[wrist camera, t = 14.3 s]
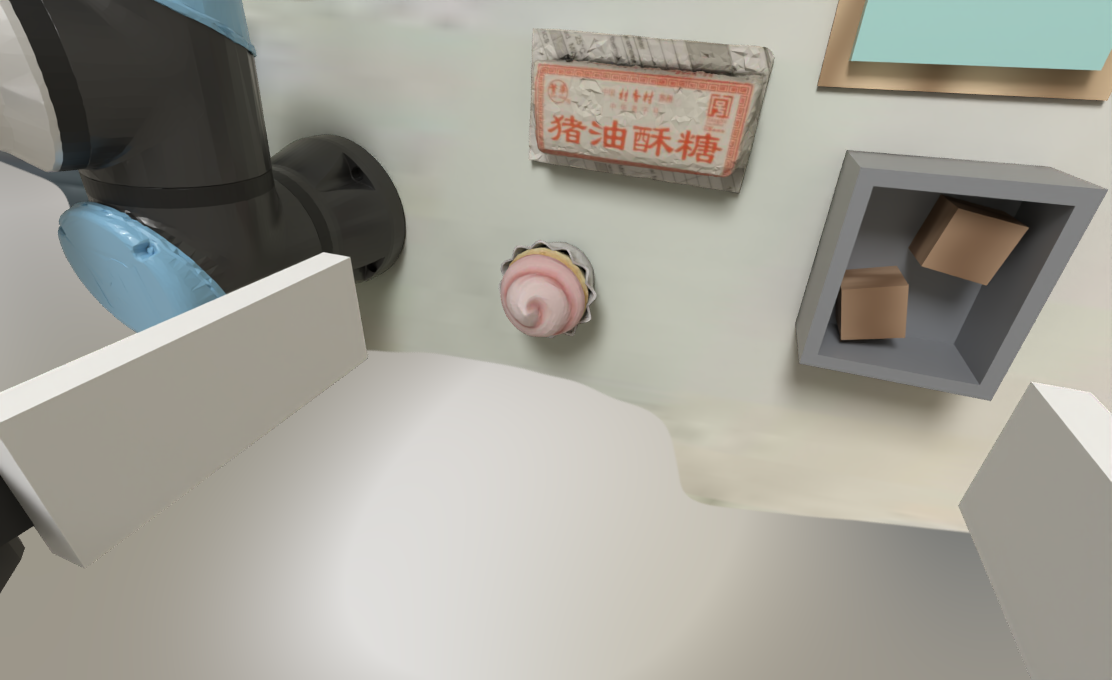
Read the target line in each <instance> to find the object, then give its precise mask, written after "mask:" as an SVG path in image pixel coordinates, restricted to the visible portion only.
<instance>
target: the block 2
mask: <svg viewBox="0 0 1112 680" xmlns="http://www.w3.org/2000/svg"><path fill="white" fill-rule="evenodd" d="M1028 228H1029V227H1027V226H1026V225H1024V224H1023V223H1021V222H1020V221H1018V220H1017V219H1015V218H1014V217H1012V216H1011V215H1009V214H1008V213H1006V212H1005V211H1001V210H997V209H994V208H990V207H986V206H982V205H979V204H975V203H971V202H968V201H964V200H960V199H957V198H953V197H949V196H946V195H942V194H941V195H940V197H939V198H938V200H937V201H936V203H935V205H934V206H933V208H932V210H931V211H930V213H929V215H928V216H927V218H926V219H925V221H924V223H923V224H922V226H921V228H920V229H919V231H918V233H917V234H916V236H915V237H914V239H913V241H912V242H911V244H910V246H909V247H908V248H909V250H910V251H911V252H912V254H913V255H914V257H915V258H916V259H917V261H918V262H919V264H920V265H921V266H922V267H926V268H929V269H933V270H936V271H939V272H943V273H946V274H949V275H953V276H956V277H959V278H963V279H966V280H969V281H973V282H976V283H979V284H983V285H986V286H987V284H988V283H989V282H990V280H991V279H992V278H993V276H994V275H995V274H996V272H997V271H998V269H999V268H1000V267H1001V265H1002V264H1003V263H1004V261H1005V260H1006V259H1007V257H1008V256H1009V254H1010V253H1011V252H1012V250H1013V249H1014V248H1015V246H1016V245H1017V244H1018V242H1019V241H1020V239H1021V238H1022V237H1023V235H1024V234H1025V233H1026V231H1027V230H1028Z"/></svg>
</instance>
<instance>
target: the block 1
mask: <svg viewBox="0 0 1112 680" xmlns="http://www.w3.org/2000/svg"><path fill="white" fill-rule="evenodd" d="M908 289H909V285H908V283H907V282H906V280H905V278H904V277H903V275H902V273H901V272H900V270H899V268H898V267H897V266H887V267H874V268H861V269H849V270H846V271H845V274H844V277H843V280H842V283H841V286H840V289H839V292H838V295H837V298H836V321H837V326H838V330H839V334H840V338H841V340H853V339H885V338H905V332H906V318H907V303H908Z"/></svg>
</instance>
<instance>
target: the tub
mask: <svg viewBox="0 0 1112 680" xmlns="http://www.w3.org/2000/svg"><path fill="white" fill-rule="evenodd" d="M1107 191H1108V189H1105V188H1103V187H1100V186H1098V185H1095V184H1092V183H1090V182H1087V181H1085V180H1082V179H1080V178H1077V177H1075V176H1072V175H1069V174H1067V173H1064V172H1062V171H1059V170H1057V169H1054V168H1052V167H1045V166H1033V165H1021V164H1009V163H996V162H984V161H972V160H960V159H948V158H935V157H923V156H911V155H899V154H887V153H874V152H862V151H850V150H847V151H846V155H845V158H844V161H843V165H842V168H841V172H840V175H839V178H838V182H837V185H836V188H835V192H834V195H833V199H832V202H831V205H830V209H829V212H828V215H827V219H826V222H825V226H824V229H823V232H822V236H821V239H820V242H819V246H818V249H817V253H816V256H815V259H814V263H813V266H812V270H811V273H810V276H809V280H808V283H807V286H806V290H805V293H804V297H803V300H802V303H801V307H800V310H799V313H798V317H797V320H796V333H797V344H798V355H799V364H804V365H810V366H815V367H820V368H825V369H830V370H835V371H840V372H845V373H851V374H856V375H861V376H866V377H871V378H876V379H881V380H886V381H892V382H897V383H902V384H907V385H912V386H917V387H922V388H927V389H932V390H938V391H943V392H948V393H953V394H958V395H963V396H968V397H973V398H979V399H984V400H989V401H991V400H992V398H993V396H994V394H995V393H996V391H997V389H998V387H999V385H1000V384H1001V382H1002V380H1003V378H1004V376H1005V375H1006V373H1007V371H1008V369H1009V367H1010V366H1011V364H1012V362H1013V360H1014V358H1015V357H1016V355H1017V353H1018V351H1019V349H1020V348H1021V346H1022V344H1023V342H1024V340H1025V339H1026V337H1027V335H1028V333H1029V331H1030V330H1031V328H1032V326H1033V324H1034V322H1035V321H1036V319H1037V317H1038V315H1039V313H1040V312H1041V310H1042V308H1043V306H1044V304H1045V303H1046V301H1047V299H1048V297H1049V295H1050V294H1051V292H1052V290H1053V288H1054V286H1055V285H1056V283H1057V281H1058V279H1059V277H1060V276H1061V274H1062V272H1063V270H1064V268H1065V267H1066V265H1067V263H1068V261H1069V259H1070V258H1071V256H1072V254H1073V252H1074V250H1075V249H1076V247H1077V245H1078V243H1079V241H1080V240H1081V238H1082V236H1083V234H1084V232H1085V231H1086V229H1087V227H1088V225H1089V223H1090V222H1091V220H1092V218H1093V216H1094V214H1095V213H1096V211H1097V209H1098V207H1099V205H1100V204H1101V202H1102V200H1103V198H1104V196H1105V195H1106V193H1107ZM941 194H942V195H946V196H949V197H953V198H957V199H960V200H964V201H968V202H971V203H975V204H979V205H982V206H986V207H990V208H994V209H997V210H1001V211H1005V212H1006V213H1008V214H1009V215H1011V216H1012V217H1014V218H1015V219H1017V220H1018V221H1020V222H1021V223H1023V224H1024V225H1026V226H1027V227H1029V228H1028V230H1027V231H1026V233H1025V234H1024V235H1023V237H1022V238H1021V239H1020V241H1019V242H1018V244H1017V245H1016V246H1015V248H1014V249H1013V250H1012V252H1011V253H1010V254H1009V256H1008V257H1007V259H1006V260H1005V261H1004V263H1003V264H1002V265H1001V267H1000V268H999V269H998V271H997V272H996V274H995V275H994V276H993V278H992V279H991V280H990V282H989V283H988V284H987V286H986V285H983V284H979V283H976V282H973V281H969V280H966V279H963V278H959V277H956V276H953V275H949V274H946V273H943V272H939V271H936V270H933V269H929V268H926V267H922V266H921V265H920V264H919V262H918V261H917V259H916V258H915V257H914V255H913V254H912V252H911V251H910V250H909V248H908V247H909V246H910V244H911V242H912V241H913V239H914V237H915V236H916V234H917V233H918V231H919V229H920V228H921V226H922V224H923V223H924V221H925V219H926V218H927V216H928V215H929V213H930V211H931V210H932V208H933V206H934V205H935V203H936V201H937V200H938V198H939V197H940V195H941ZM887 266H897V267H898V268H899V270H900V272H901V273H902V275H903V277H904V278H905V280H906V282H907V283H908V285H909V289H908V303H907V318H906V332H905V338H885V339H853V340H841V338H840V334H839V330H838V326H837V321H836V298H837V295H838V292H839V289H840V286H841V283H842V280H843V277H844V274H845V271H846V270H849V269H861V268H874V267H887Z"/></svg>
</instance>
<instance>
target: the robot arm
mask: <svg viewBox="0 0 1112 680" xmlns="http://www.w3.org/2000/svg"><path fill="white" fill-rule="evenodd" d="M254 57H256V50H255V48H254V46H253V45H252V44H251V41H250V37H249V32H248V27H247V23H246V18H245V13H244V9H243V4H242V0H0V150H1V151H4V152H8V153H10V154H12V155H14V156H16V157H18V158H20V159H22V160H24V161H26V162H28V163H30V164H32V165H34V166H36V167H38V168H40V169H42V170H44V171H46V172H58V171H69V170H78V171H79V173H80V176H81V179H82V182H83V185H84V187H85V190H86V193H87V196H88V199H89V201H88V202H80V203H76V204H75V205H73V206H72V207H71V208H70V209H68V210H66V211H65V212H64V213H63V214H62V215H61V216H60V219H59V224H60V227H59V230H58V236H59V240H60V244H61V246H62V249H63V252H64V254H65V256H66V258H67V260H68V261H69V263H70V265H71V266H72V268H73V270H74V271H75V273H76V274H77V276H78V277H79V279H80V280H81V282H82V283H83V284H84V285H85V287H86V288H87V289H88V290H89V291H90V293H91V294H92V295H93V296H94V297H95V298H96V299H97V300H98V301H99V302H100V303H101V304H102V306H103V307H105V308H106V309H107V310H108V311H109V312H110V313H112V314H113V315H114V316H115V317H116V318H117V319H118V320H120V321H121V322H122V323H123V324H125V325H126V326H127V327H129V328H130V329H132V330H133V331H135V332H136V334H134V335H132V336H130V337H127V338H125V339H122V340H120V341H118V342H116V343H113V344H111V345H109V346H106V347H104V348H102V349H99V350H97V351H95V352H92V353H90V354H88V355H86V356H83V357H81V358H79V359H76V360H74V361H72V362H69V363H67V364H65V365H63V366H60V367H58V368H56V369H53V370H51V371H49V372H46V373H44V374H42V375H39V376H37V377H35V378H32V379H30V380H28V381H26V382H23V383H21V384H19V385H17V386H14V387H12V388H10V389H7V390H5V391H3V392H0V593H1V591H2V589H3V588H4V586H5V584H6V583H7V581H8V580H9V578H10V576H11V575H12V573H13V571H14V570H15V568H16V567H17V565H18V563H19V562H20V560H21V558H22V555H23V552H24V549H25V547H24V546H23V544H22V542H21V540H20V539H19V537H18V535H20V534H22V533H23V532H25V531H26V530H28V529H29V528H31V527H33V526H34V527H35V528H36V530H37V531H38V533H39V534H40V536H41V537H42V538H43V540H44V542H45V543H46V545H47V546H48V547H49V549H50V550H51V552H52V553H54V554H56V555H58V556H60V557H62V558H64V559H66V560H68V561H70V562H72V563H74V564H76V565H78V566H80V567H83V568H87V567H88V566H89V565H91V564H92V563H93V562H95V561H96V560H98V559H99V558H100V557H102V556H103V555H104V554H106V553H107V552H108V551H110V550H111V549H112V548H114V547H115V546H116V545H118V544H119V543H120V542H122V541H123V540H124V539H126V538H127V537H128V536H130V535H131V534H132V533H134V532H135V531H137V530H138V529H139V528H141V527H142V526H143V525H145V524H146V523H147V522H149V521H150V520H151V519H153V518H154V517H155V516H157V515H158V514H159V513H161V512H162V511H163V510H165V509H166V508H167V507H169V506H170V505H171V504H173V503H174V502H175V501H177V500H178V499H180V498H181V497H182V496H184V495H185V494H186V493H188V492H189V491H190V490H192V489H193V488H194V487H196V486H197V485H198V484H200V483H201V482H202V481H204V480H205V479H206V478H208V477H209V476H210V475H212V474H213V473H215V472H216V471H217V470H219V469H220V468H221V467H223V466H224V465H225V464H227V463H228V462H229V461H231V460H232V459H233V458H235V457H236V456H237V455H239V454H240V453H241V452H242V451H244V450H245V449H247V448H248V447H249V446H251V445H252V444H254V443H255V442H256V441H258V440H259V439H260V438H262V437H263V436H264V435H266V434H267V433H268V432H269V431H271V430H272V429H274V428H275V427H276V426H278V425H279V424H280V423H282V422H283V421H284V420H286V419H287V418H288V417H290V416H291V415H293V414H294V413H295V412H297V411H298V410H299V409H301V408H302V407H303V406H304V405H306V404H307V403H309V402H310V401H311V400H313V399H314V398H315V397H317V396H318V395H319V394H321V393H322V392H323V391H325V390H326V389H327V388H329V387H330V386H332V385H333V384H334V383H336V382H337V381H338V380H339V379H341V378H342V377H344V376H345V375H346V374H348V373H349V372H350V371H352V370H353V369H354V368H356V367H357V366H358V365H360V364H361V363H362V362H364V361H365V360H366V359H368V355H367V350H366V344H365V338H364V333H363V327H362V321H361V315H360V310H359V304H358V298H357V293H356V287H355V283H360V282H364V281H367V280H370V279H372V278H374V277H376V276H377V275H379V274H381V273H383V272H385V271H386V270H388V269H389V268H390V267H391V266H392V265H393V264H394V263H395V261H396V260H397V258H398V257H399V254H400V252H401V250H402V246H403V242H404V235H405V222H404V214H403V209H402V205H401V202H400V199H399V196H398V194H397V191H396V189H395V187H394V185H393V183H392V181H391V179H390V178H389V176H388V175H387V173H386V172H385V170H384V169H383V168H382V166H381V165H380V164H379V163H378V161H377V160H376V159H375V158H374V157H373V156H372V155H371V154H369V153H368V152H367V151H366V150H365V149H363V148H362V147H361V146H359V145H357V144H356V143H354V142H352V141H350V140H348V139H346V138H343V137H340V136H336V135H318V136H312V137H306V138H302V139H299V140H296V141H294V142H292V143H290V144H289V145H287V146H286V147H285V148H283V149H282V150H281V151H279V152H278V153H277V154H275V155H274V156H273V157H271V158H270V152H269V146H268V140H267V134H266V127H265V121H264V115H263V109H262V103H261V96H260V90H259V84H258V78H257V72H256V65H255V59H254ZM958 506H959V508H960V510H961V513H962V515H963V518H964V520H965V522H966V525H967V527H968V530H969V532H970V534H971V537H972V539H973V542H974V544H975V546H976V549H977V551H978V554H979V556H980V558H981V561H982V563H983V566H984V568H985V570H986V573H987V575H988V578H989V580H990V582H991V585H992V587H993V590H994V592H995V594H996V597H997V599H998V602H999V604H1000V606H1001V609H1002V611H1003V613H1004V616H1005V618H1006V621H1007V623H1008V626H1009V628H1010V630H1011V633H1012V635H1013V638H1014V640H1015V643H1016V645H1017V647H1018V650H1019V652H1020V654H1021V657H1022V659H1023V662H1024V664H1025V667H1026V669H1027V671H1028V674H1029V676H1030V678H1031V680H1112V414H1111V413H1110V412H1109V411H1108V410H1107V409H1106V408H1105V407H1104V406H1103V404H1102V403H1101V402H1100V401H1099V400H1098V399H1097V398H1096V397H1095V396H1094V395H1093V394H1092V393H1091V392H1086V391H1080V390H1075V389H1069V388H1064V387H1058V386H1053V385H1047V384H1042V383H1037V382H1031V383H1030V384H1029V386H1028V388H1027V389H1026V391H1025V393H1024V395H1023V396H1022V398H1021V400H1020V401H1019V403H1018V405H1017V406H1016V408H1015V410H1014V412H1013V413H1012V415H1011V417H1010V418H1009V420H1008V422H1007V423H1006V425H1005V427H1004V428H1003V430H1002V432H1001V434H1000V435H999V437H998V439H997V440H996V442H995V444H994V445H993V447H992V449H991V451H990V452H989V454H988V456H987V457H986V459H985V461H984V462H983V464H982V466H981V468H980V469H979V471H978V473H977V474H976V476H975V478H974V479H973V481H972V483H971V484H970V486H969V488H968V490H967V491H966V493H965V495H964V496H963V498H962V500H961V501H960V503H959V505H958Z"/></svg>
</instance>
